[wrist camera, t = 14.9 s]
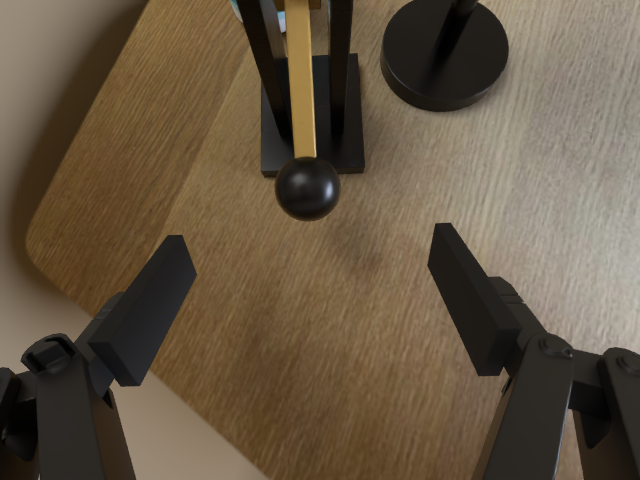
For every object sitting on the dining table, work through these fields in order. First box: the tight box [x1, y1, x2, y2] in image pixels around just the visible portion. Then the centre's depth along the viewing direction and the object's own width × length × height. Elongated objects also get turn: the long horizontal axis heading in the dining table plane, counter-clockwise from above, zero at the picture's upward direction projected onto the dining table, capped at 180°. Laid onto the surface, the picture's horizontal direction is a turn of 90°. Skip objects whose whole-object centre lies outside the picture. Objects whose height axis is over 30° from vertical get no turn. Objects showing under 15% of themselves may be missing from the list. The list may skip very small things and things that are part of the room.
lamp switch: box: [273, 0, 341, 222], centre depth 15 cm, size 13×4×4 cm, turn 2°
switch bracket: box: [236, 0, 365, 177], centre depth 18 cm, size 10×8×14 cm
